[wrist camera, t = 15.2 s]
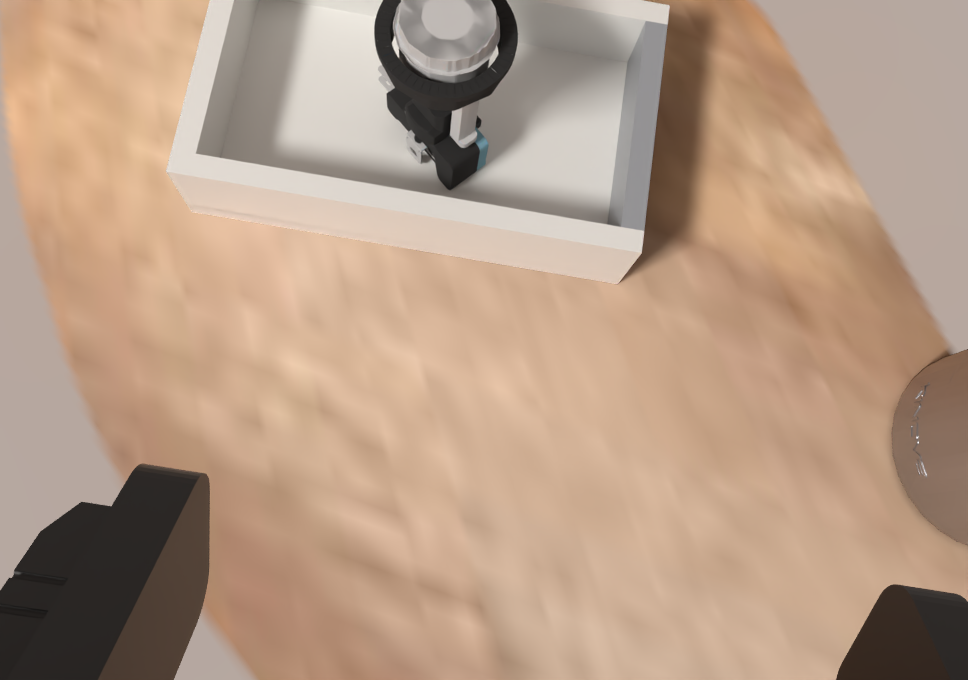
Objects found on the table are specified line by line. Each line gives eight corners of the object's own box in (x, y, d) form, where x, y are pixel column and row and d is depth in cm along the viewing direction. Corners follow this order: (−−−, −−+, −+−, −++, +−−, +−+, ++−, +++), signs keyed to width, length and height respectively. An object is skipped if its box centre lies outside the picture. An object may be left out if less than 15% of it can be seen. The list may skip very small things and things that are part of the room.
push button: (340, 110, 42) (320, -24, 32) (429, 49, 43) (435, -99, 33) (430, 216, 41) (436, 111, 31) (518, 150, 42) (551, 30, 32)
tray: (644, 58, 45) (669, 5, 40) (617, 284, 42) (641, 252, 38) (247, -14, 44) (229, -76, 40) (192, 212, 41) (165, 171, 37)
